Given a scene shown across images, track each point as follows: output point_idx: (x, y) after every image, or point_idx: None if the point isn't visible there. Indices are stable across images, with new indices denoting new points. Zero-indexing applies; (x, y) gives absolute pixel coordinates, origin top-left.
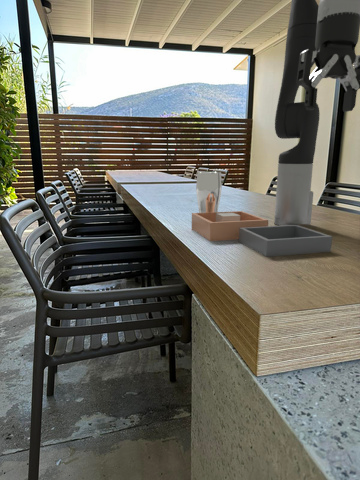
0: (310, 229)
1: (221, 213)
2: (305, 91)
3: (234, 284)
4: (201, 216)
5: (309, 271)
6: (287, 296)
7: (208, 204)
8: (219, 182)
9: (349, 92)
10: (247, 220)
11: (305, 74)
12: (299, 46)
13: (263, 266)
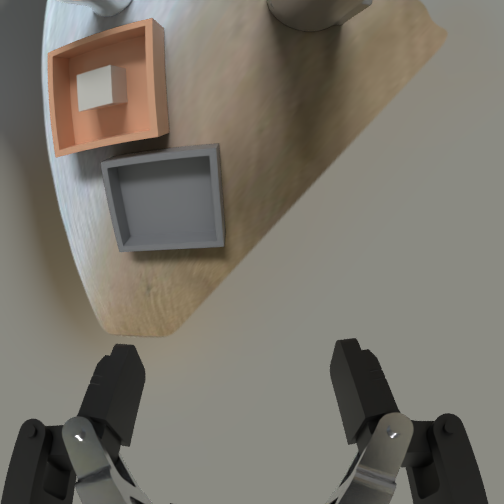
0: (218, 193)
1: (85, 77)
2: (79, 411)
3: (90, 290)
4: (53, 91)
5: (166, 277)
6: (126, 318)
7: (82, 5)
8: None
9: (351, 430)
10: (117, 137)
11: (56, 477)
12: None
13: (122, 253)
